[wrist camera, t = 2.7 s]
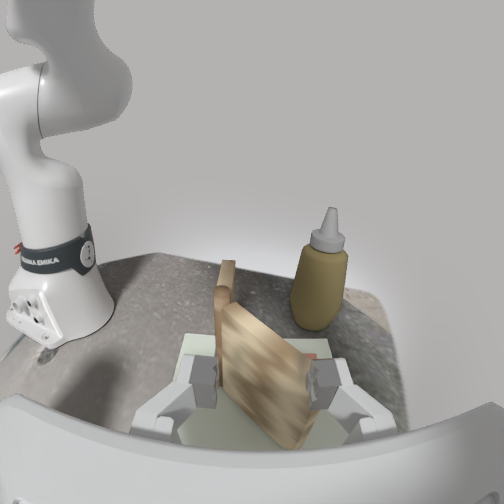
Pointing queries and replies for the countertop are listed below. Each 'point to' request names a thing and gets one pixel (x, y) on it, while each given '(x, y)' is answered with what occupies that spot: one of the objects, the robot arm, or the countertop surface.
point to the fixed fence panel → (228, 276)
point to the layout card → (237, 421)
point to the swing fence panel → (262, 373)
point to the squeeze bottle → (320, 276)
